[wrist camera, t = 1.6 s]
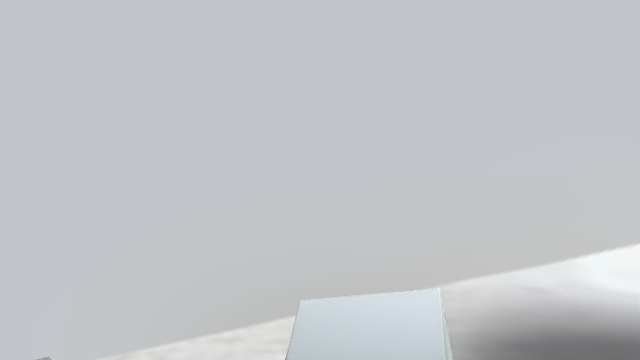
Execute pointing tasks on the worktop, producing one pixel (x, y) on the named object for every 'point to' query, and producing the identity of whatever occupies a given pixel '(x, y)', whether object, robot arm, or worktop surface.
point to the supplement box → (372, 327)
